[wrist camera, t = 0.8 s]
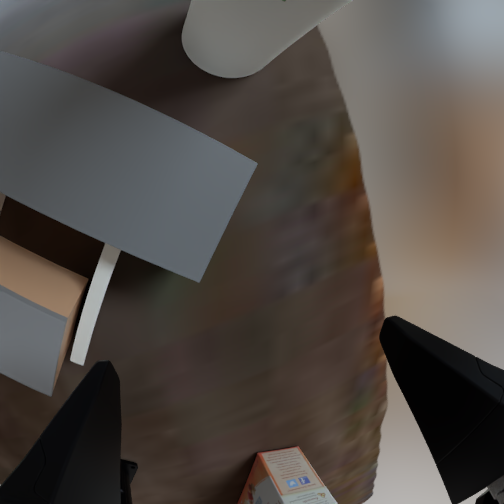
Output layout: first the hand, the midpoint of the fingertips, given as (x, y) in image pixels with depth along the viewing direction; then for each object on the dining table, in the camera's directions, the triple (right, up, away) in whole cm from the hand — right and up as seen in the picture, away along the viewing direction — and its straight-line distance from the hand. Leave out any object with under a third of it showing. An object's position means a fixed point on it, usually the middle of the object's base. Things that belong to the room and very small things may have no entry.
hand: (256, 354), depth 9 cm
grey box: (-16, 0, +9) cm, 18 cm away
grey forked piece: (-13, +6, +8) cm, 17 cm away
